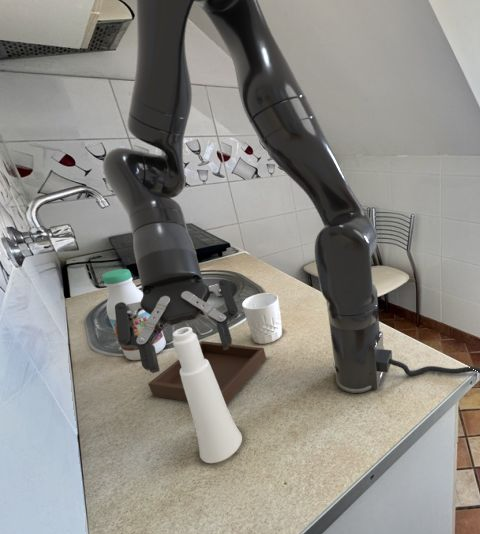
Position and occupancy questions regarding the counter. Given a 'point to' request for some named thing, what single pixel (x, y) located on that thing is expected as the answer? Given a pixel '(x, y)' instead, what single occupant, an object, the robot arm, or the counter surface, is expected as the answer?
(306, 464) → the counter surface
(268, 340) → the white cup
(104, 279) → the milk bottle
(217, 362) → the tray
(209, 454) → the cosmetic bottle
